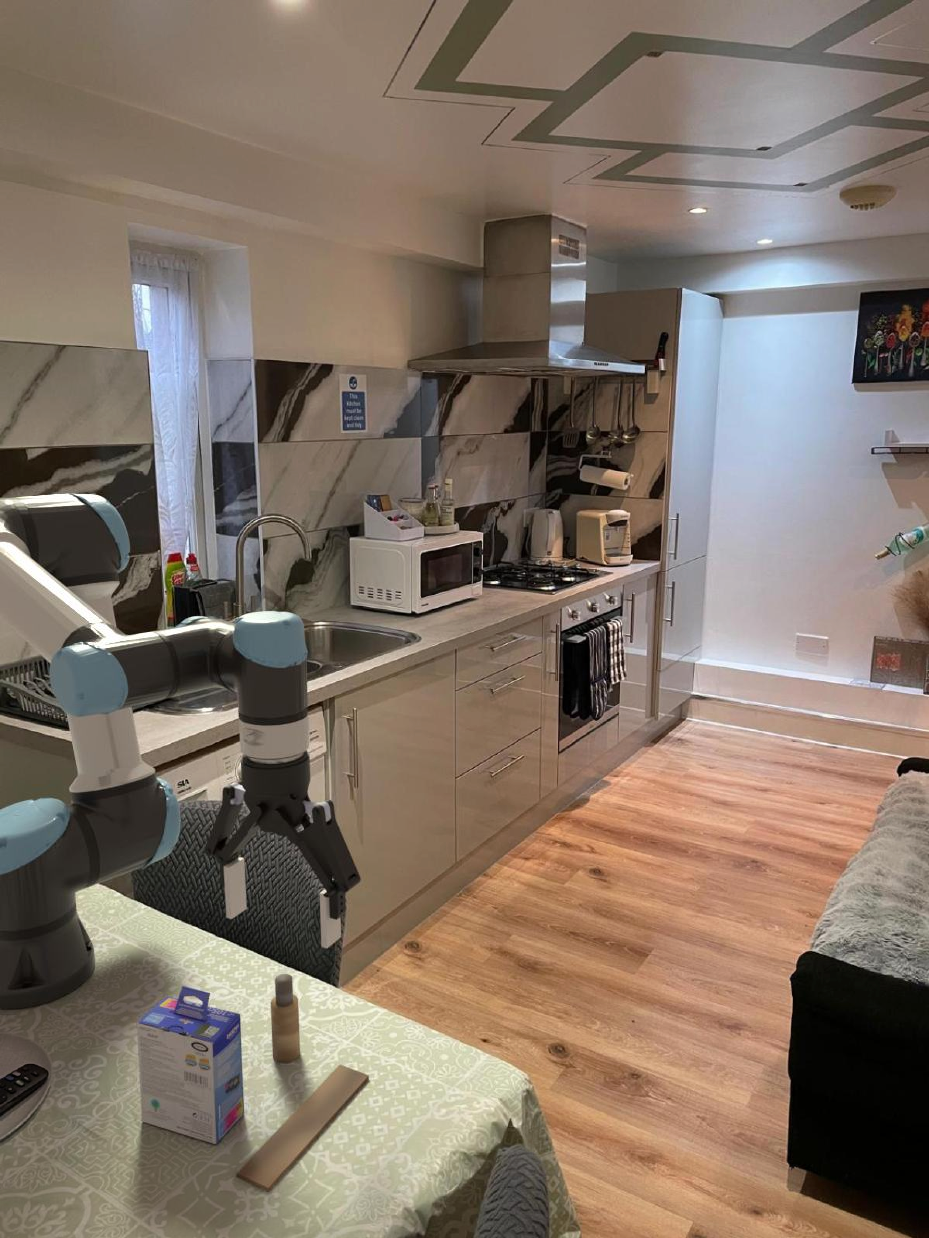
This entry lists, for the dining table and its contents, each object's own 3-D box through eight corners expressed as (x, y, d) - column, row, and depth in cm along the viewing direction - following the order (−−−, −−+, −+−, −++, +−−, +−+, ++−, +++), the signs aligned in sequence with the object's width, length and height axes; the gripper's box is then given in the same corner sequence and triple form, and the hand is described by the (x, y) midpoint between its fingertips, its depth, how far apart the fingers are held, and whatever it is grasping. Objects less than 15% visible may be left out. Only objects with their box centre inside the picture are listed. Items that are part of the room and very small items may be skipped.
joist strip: (236, 1176, 92) (236, 1172, 92) (339, 1067, 108) (339, 1064, 108) (268, 1191, 91) (268, 1187, 91) (368, 1078, 106) (368, 1075, 106)
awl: (267, 1057, 110) (263, 982, 108) (284, 1041, 112) (281, 968, 110) (288, 1066, 108) (286, 989, 106) (305, 1050, 111) (303, 975, 109)
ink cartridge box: (248, 1111, 101) (242, 992, 98) (218, 1147, 96) (211, 1023, 93) (172, 1089, 104) (164, 973, 101) (140, 1123, 99) (130, 1003, 96)
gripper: (166, 745, 105) (177, 916, 109) (350, 783, 94) (354, 972, 98) (212, 726, 111) (221, 888, 116) (389, 759, 100) (392, 938, 104)
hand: (282, 927), depth 107 cm, fingers open, 13 cm apart
